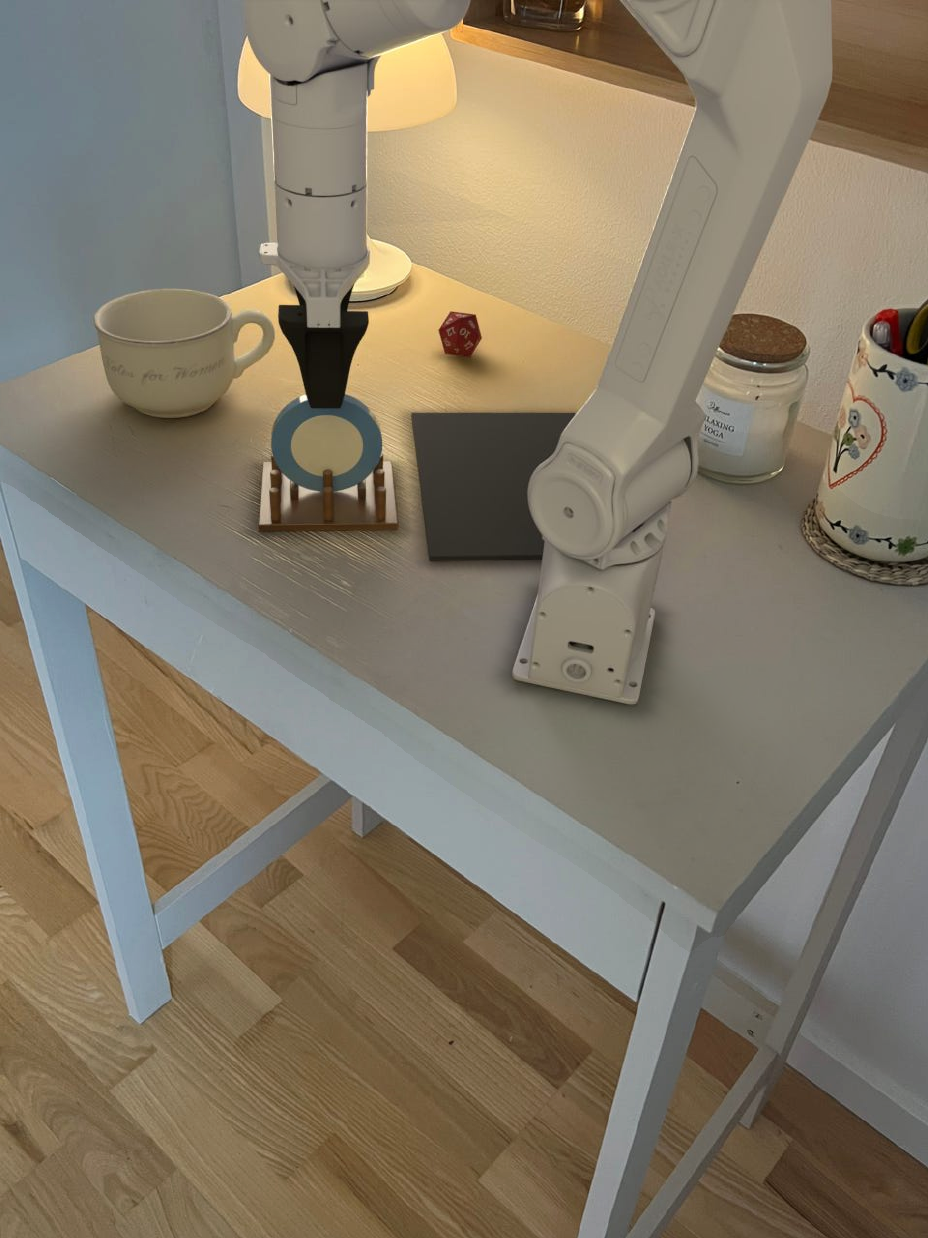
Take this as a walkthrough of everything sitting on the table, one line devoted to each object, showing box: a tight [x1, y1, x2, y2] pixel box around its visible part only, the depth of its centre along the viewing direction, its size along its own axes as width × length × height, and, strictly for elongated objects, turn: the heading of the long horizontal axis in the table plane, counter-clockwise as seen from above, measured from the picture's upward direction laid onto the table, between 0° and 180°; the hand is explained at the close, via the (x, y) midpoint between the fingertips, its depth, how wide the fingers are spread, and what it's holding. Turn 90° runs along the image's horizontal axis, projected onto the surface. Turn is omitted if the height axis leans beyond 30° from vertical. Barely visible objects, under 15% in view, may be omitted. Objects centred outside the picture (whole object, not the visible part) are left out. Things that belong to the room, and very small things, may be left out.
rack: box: [258, 452, 399, 532], centre depth 84 cm, size 8×10×3 cm
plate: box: [270, 393, 383, 492], centre depth 82 cm, size 1×8×8 cm, turn 96°
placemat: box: [410, 412, 577, 562], centre depth 88 cm, size 20×14×1 cm
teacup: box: [93, 288, 276, 419], centre depth 93 cm, size 14×11×8 cm
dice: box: [438, 311, 483, 358], centre depth 103 cm, size 4×4×4 cm
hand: (325, 378), depth 79 cm, fingers open, 7 cm apart
